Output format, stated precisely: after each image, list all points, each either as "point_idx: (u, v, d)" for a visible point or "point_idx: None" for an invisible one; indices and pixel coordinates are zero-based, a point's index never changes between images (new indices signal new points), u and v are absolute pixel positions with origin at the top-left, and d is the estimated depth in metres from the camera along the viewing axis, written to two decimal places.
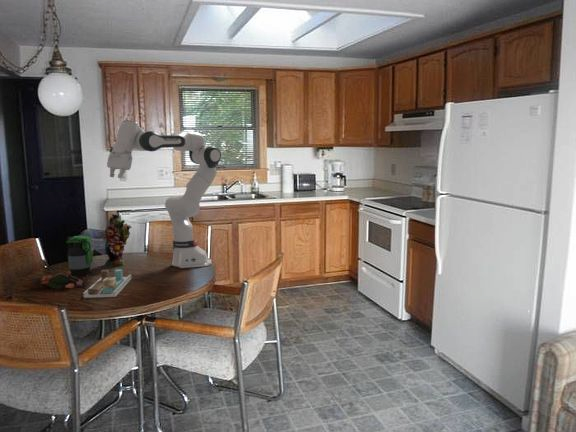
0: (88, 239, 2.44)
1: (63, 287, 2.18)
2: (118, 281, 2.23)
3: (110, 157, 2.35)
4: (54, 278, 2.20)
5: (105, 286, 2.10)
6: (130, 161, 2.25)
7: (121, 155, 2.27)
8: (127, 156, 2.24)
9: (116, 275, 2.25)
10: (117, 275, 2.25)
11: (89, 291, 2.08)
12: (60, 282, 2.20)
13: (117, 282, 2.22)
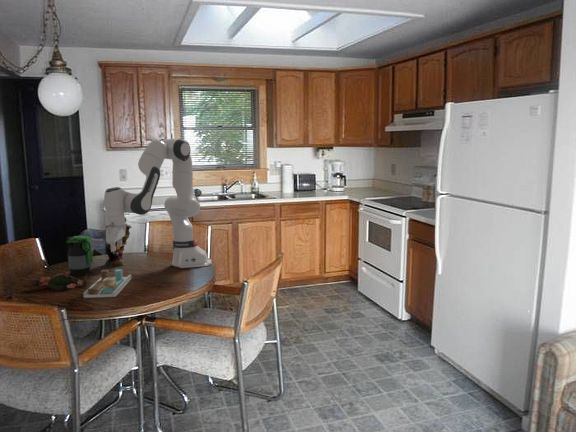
0: (88, 239, 2.44)
1: (65, 287, 2.18)
2: (118, 281, 2.23)
3: None
4: (54, 279, 2.19)
5: (105, 286, 2.10)
6: (111, 234, 2.14)
7: None
8: (107, 230, 2.14)
9: (116, 275, 2.25)
10: (117, 275, 2.25)
11: (89, 291, 2.08)
12: (60, 282, 2.19)
13: (117, 282, 2.22)
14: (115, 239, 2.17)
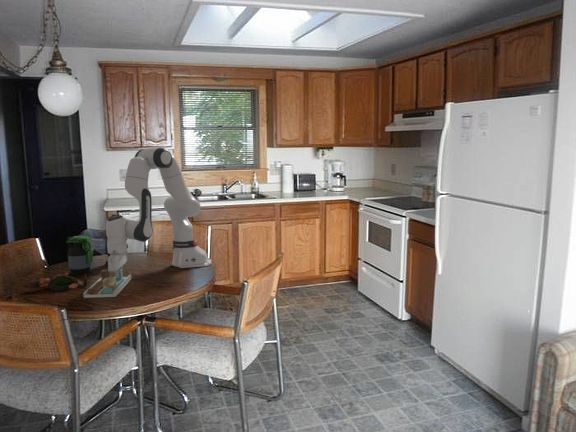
0: (88, 239, 2.44)
1: (66, 288, 2.17)
2: (118, 281, 2.23)
3: None
4: (54, 280, 2.17)
5: (105, 286, 2.10)
6: (113, 263, 2.16)
7: None
8: (109, 259, 2.16)
9: None
10: None
11: (89, 291, 2.08)
12: (61, 283, 2.18)
13: (117, 282, 2.22)
14: (117, 267, 2.19)
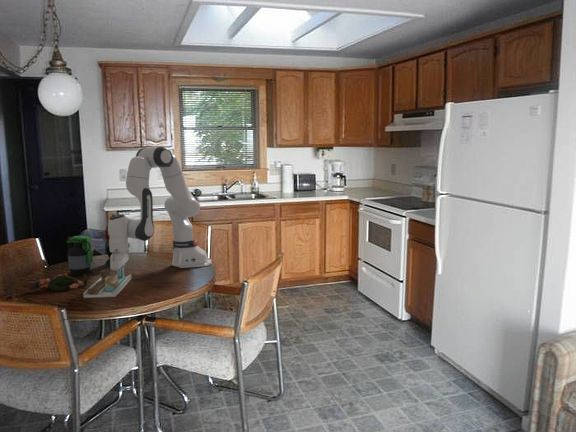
0: (88, 239, 2.44)
1: (67, 288, 2.17)
2: (120, 279, 2.26)
3: None
4: (55, 280, 2.17)
5: (107, 284, 2.13)
6: (115, 261, 2.19)
7: None
8: (111, 257, 2.19)
9: None
10: None
11: (89, 291, 2.08)
12: (62, 283, 2.18)
13: (119, 280, 2.24)
14: (119, 266, 2.22)
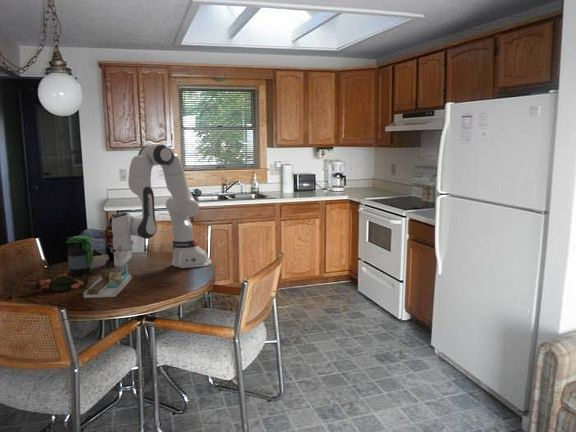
0: (88, 239, 2.44)
1: (69, 288, 2.17)
2: (123, 276, 2.32)
3: None
4: (56, 281, 2.16)
5: (111, 280, 2.19)
6: (119, 258, 2.25)
7: None
8: (115, 254, 2.25)
9: None
10: None
11: (89, 291, 2.08)
12: (63, 283, 2.17)
13: (122, 277, 2.30)
14: (123, 262, 2.28)
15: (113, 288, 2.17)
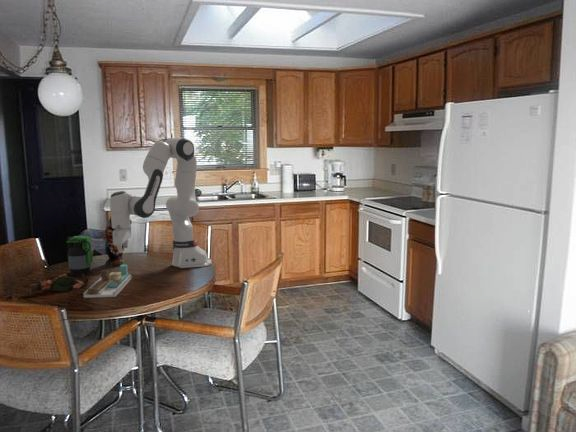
0: (88, 239, 2.44)
1: (71, 288, 2.17)
2: (123, 276, 2.32)
3: None
4: (57, 281, 2.15)
5: (111, 280, 2.19)
6: (118, 237, 2.23)
7: None
8: (114, 233, 2.23)
9: (121, 270, 2.34)
10: (122, 270, 2.34)
11: (89, 291, 2.08)
12: (64, 284, 2.17)
13: (122, 277, 2.30)
14: (122, 241, 2.26)
15: (113, 288, 2.17)
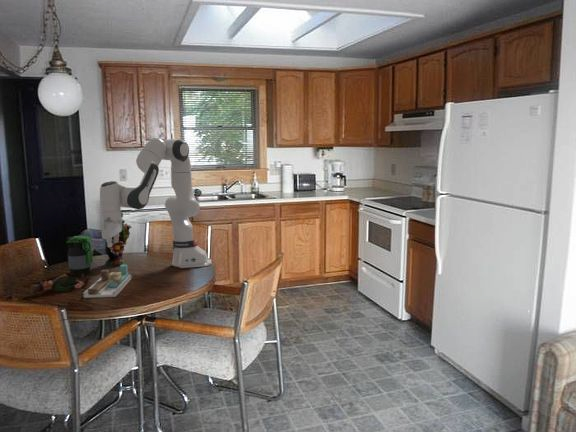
0: (88, 239, 2.44)
1: (73, 288, 2.17)
2: (123, 276, 2.32)
3: None
4: (58, 281, 2.15)
5: (111, 280, 2.19)
6: (107, 230, 2.08)
7: None
8: (103, 225, 2.08)
9: (121, 270, 2.34)
10: (122, 270, 2.34)
11: (89, 291, 2.08)
12: (65, 284, 2.17)
13: (122, 277, 2.30)
14: (111, 234, 2.11)
15: (113, 288, 2.17)
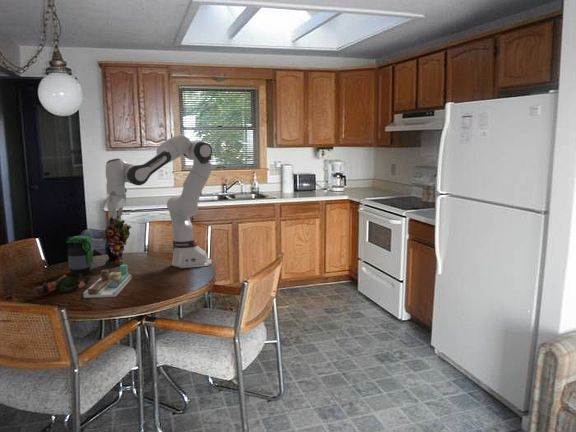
0: (88, 239, 2.44)
1: (77, 288, 2.17)
2: (123, 276, 2.32)
3: None
4: (62, 282, 2.14)
5: (111, 280, 2.19)
6: (112, 202, 2.27)
7: None
8: (108, 198, 2.27)
9: (121, 270, 2.34)
10: (122, 270, 2.34)
11: (89, 291, 2.08)
12: (69, 284, 2.16)
13: (122, 277, 2.30)
14: (116, 207, 2.30)
15: (113, 288, 2.17)
